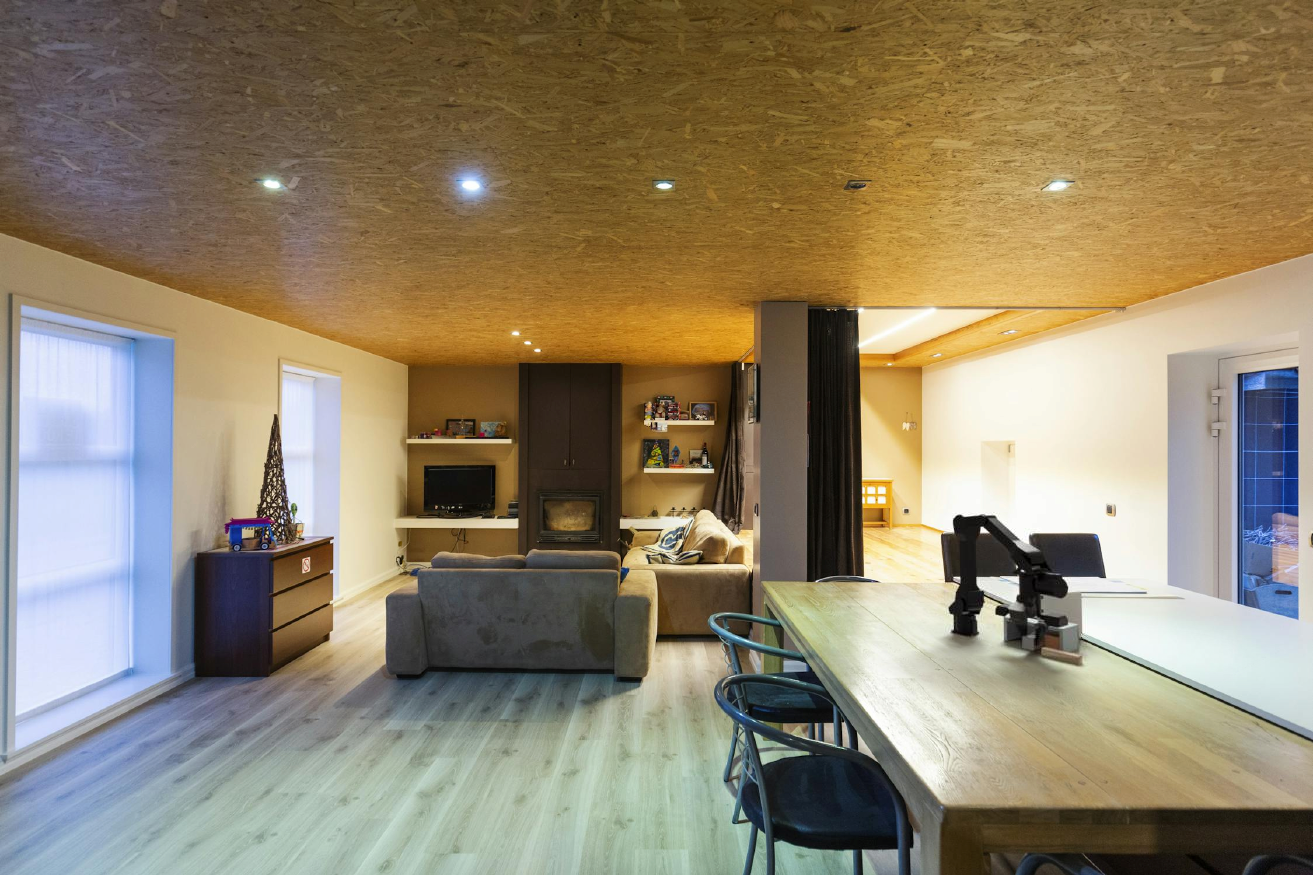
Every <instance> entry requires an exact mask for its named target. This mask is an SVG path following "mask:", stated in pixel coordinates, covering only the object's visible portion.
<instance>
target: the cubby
mask: <svg viewBox="0 0 1313 875" xmlns="http://www.w3.org/2000/svg"><path fill="white" fill-rule="evenodd" d="M1036 617H1037V616H1036ZM1008 618H1010V615H1009V614H1008V615H1006V616H1005V617H1003V641H1007V642H1009V641H1012V640H1016V639H1019V638H1021V636H1020V633H1019V631H1018V629H1017V627H1016V625H1015V624H1014V623H1013V622H1012V621H1010V620H1009V619H1008ZM1036 623H1038V620H1036V619H1031V618H1028V624H1027V635H1030V634H1032V631H1036V629H1035V626H1034V624H1036ZM1050 632H1051V633H1056V634H1059V635H1060V650H1061V651H1066V652H1070V653H1073V652H1075V651H1078V650H1080V638H1079V624H1074V623H1069V622H1068V625H1066V626H1063V627H1060V628H1057V627H1052V626H1049V627H1048V629H1047V630H1046V632H1045V633H1050Z"/></svg>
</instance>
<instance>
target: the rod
mask: <svg viewBox="0 0 1313 875" xmlns="http://www.w3.org/2000/svg"><path fill="white" fill-rule="evenodd" d="M1040 650H1041V657H1046V658H1048V659H1054V660H1058V661H1060V662H1061V661H1062V662H1066V663H1070V664H1074V665H1081V664H1083V655H1082V654H1079V653H1075V652H1066V651H1061V650H1057V649H1052V648H1048V647H1044V648H1040Z"/></svg>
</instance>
